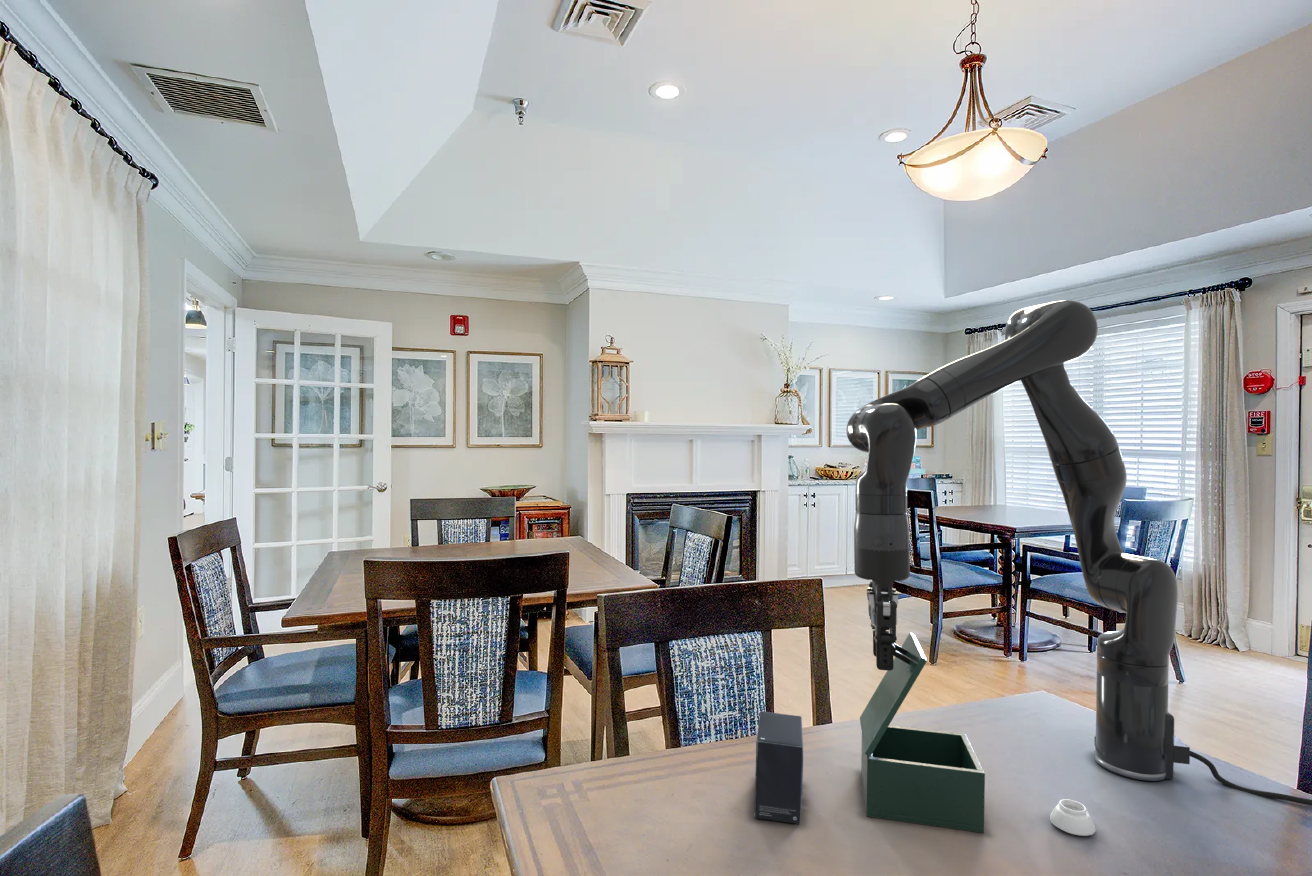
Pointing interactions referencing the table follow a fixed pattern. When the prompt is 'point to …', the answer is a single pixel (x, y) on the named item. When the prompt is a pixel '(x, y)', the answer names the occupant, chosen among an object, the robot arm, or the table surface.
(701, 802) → the table surface
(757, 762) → the small box
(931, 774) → the waste bin
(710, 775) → the table surface
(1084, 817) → the white jar
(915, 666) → the bin lid
